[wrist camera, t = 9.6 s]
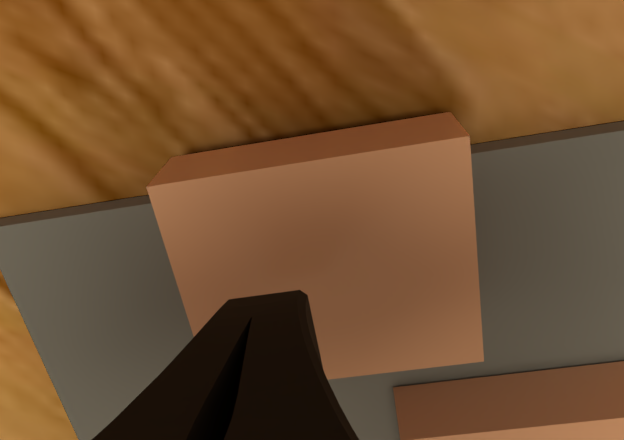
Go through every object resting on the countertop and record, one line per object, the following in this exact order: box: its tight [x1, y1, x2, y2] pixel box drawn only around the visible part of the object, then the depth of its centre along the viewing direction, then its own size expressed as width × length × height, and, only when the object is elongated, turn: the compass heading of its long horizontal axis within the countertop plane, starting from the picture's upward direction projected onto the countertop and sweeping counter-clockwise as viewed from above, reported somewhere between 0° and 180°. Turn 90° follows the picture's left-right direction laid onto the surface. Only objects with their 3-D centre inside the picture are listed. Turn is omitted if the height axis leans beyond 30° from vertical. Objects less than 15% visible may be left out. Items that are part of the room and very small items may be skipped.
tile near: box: [146, 112, 484, 380], centre depth 12 cm, size 5×2×6 cm
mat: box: [0, 121, 624, 440], centre depth 15 cm, size 14×15×1 cm
